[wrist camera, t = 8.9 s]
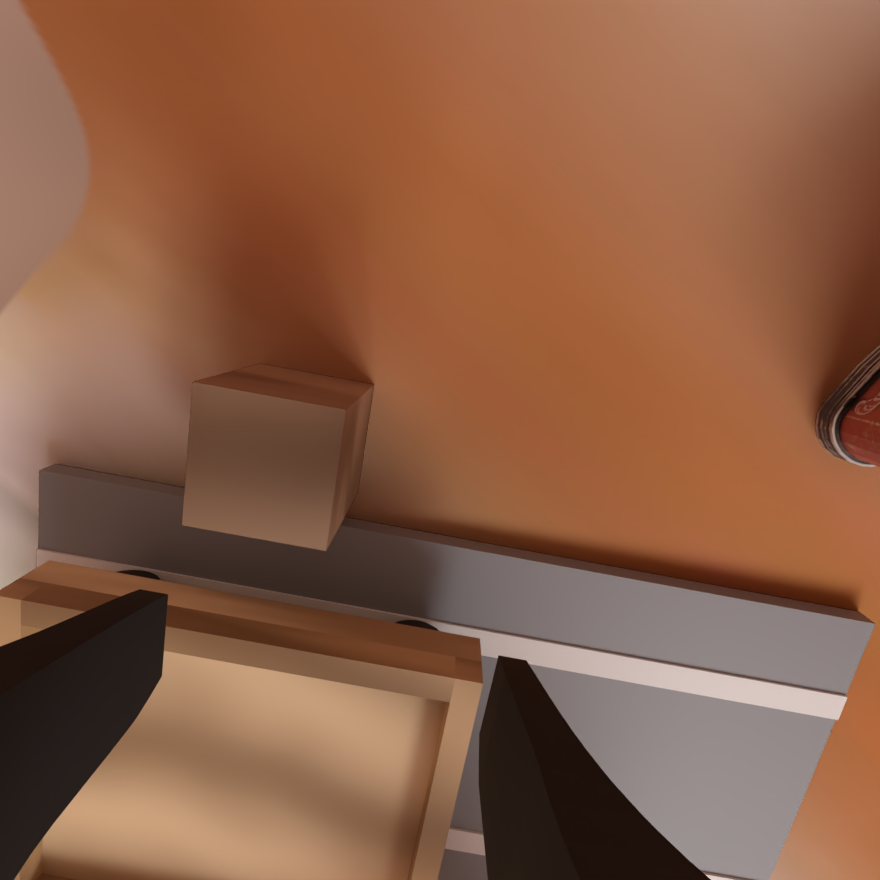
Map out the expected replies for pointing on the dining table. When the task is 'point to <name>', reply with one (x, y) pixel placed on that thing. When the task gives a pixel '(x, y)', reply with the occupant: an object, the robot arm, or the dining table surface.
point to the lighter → (854, 415)
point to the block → (275, 454)
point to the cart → (264, 741)
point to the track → (542, 654)
